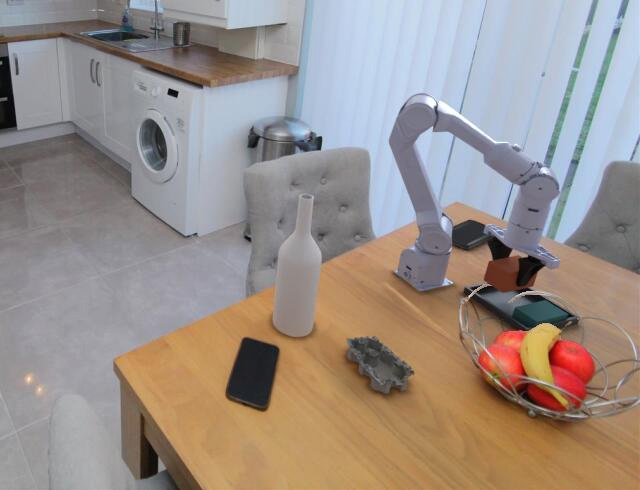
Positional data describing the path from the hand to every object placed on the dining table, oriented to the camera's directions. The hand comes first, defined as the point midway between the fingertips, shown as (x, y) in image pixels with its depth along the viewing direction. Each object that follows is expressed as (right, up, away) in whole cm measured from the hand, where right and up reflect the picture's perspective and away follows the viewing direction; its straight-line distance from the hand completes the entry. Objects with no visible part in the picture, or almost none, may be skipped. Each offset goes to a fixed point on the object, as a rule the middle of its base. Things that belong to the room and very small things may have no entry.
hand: (509, 278), depth 103 cm
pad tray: (+1, -6, -1) cm, 7 cm away
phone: (+9, +4, +26) cm, 28 cm away
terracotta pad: (0, -1, +1) cm, 1 cm away
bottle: (-48, -9, -2) cm, 49 cm away
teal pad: (+2, -7, -5) cm, 9 cm away
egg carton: (-36, -13, -14) cm, 41 cm away
